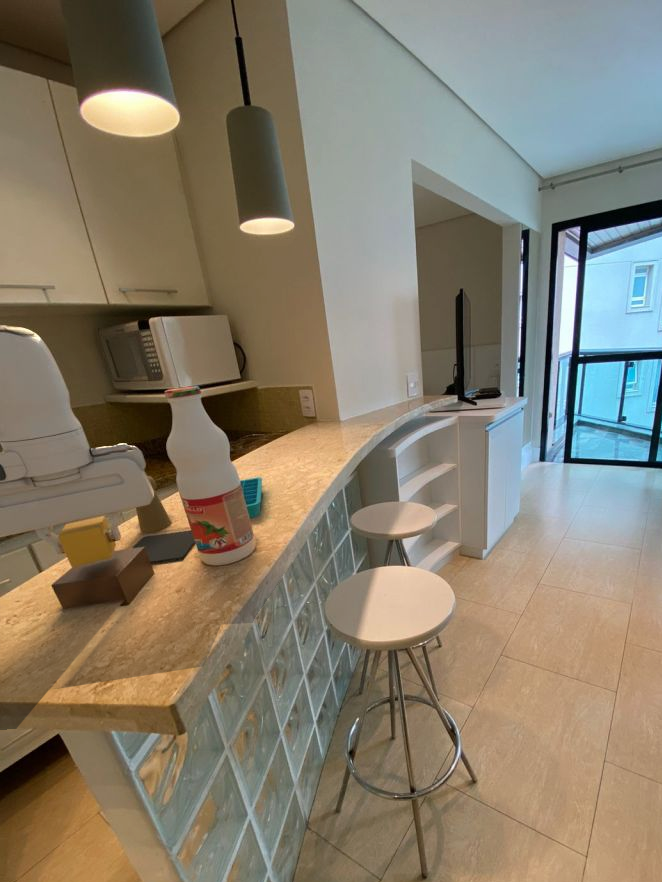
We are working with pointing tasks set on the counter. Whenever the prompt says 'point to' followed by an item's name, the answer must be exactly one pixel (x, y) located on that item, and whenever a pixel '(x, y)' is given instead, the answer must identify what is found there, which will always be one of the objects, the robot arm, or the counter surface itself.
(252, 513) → the ice cube tray
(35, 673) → the counter surface
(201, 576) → the counter surface
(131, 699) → the counter surface
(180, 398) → the fruit juice
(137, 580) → the walnut block
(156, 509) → the cork
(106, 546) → the mustard cube
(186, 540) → the coaster
